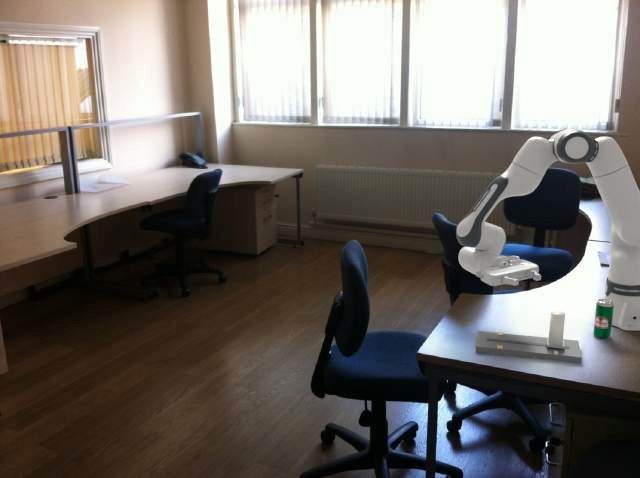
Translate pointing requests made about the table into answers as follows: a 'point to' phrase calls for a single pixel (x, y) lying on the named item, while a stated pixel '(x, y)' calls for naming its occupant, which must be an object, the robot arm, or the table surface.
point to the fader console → (526, 347)
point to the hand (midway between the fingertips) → (528, 280)
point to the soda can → (603, 318)
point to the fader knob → (556, 330)
